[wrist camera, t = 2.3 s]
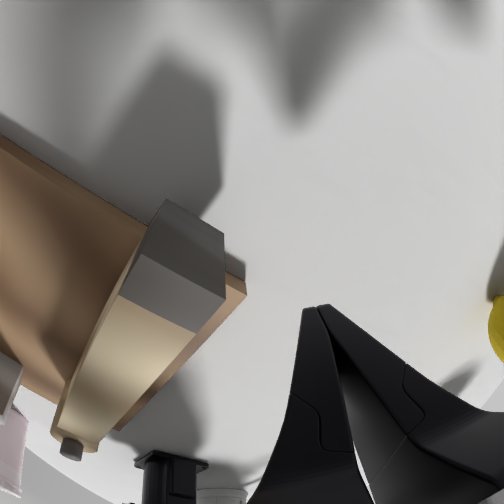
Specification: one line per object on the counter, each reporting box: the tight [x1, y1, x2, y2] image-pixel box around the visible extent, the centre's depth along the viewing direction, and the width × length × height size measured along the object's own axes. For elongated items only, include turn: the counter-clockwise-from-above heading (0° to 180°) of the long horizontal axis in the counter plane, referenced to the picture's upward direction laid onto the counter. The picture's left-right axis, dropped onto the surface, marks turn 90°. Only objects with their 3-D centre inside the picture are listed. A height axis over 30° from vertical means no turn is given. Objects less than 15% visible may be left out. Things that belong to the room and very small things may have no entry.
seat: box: [0, 134, 247, 461], centre depth 11 cm, size 18×20×6 cm
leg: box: [50, 198, 226, 453], centre depth 12 cm, size 17×3×4 cm, turn 143°
